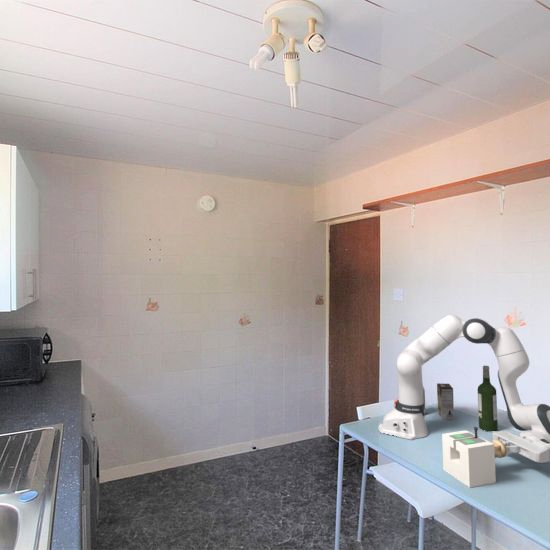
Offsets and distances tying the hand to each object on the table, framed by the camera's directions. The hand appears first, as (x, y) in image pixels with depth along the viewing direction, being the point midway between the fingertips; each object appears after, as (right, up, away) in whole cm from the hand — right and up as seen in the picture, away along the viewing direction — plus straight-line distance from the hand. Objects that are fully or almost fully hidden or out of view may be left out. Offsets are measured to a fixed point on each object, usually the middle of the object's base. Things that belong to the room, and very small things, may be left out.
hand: (502, 448), depth 138 cm
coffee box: (+5, -10, +56) cm, 57 cm away
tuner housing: (-15, -8, -4) cm, 18 cm away
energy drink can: (-8, -10, +60) cm, 61 cm away
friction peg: (-7, -3, -2) cm, 8 cm away
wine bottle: (+17, -9, +38) cm, 42 cm away
